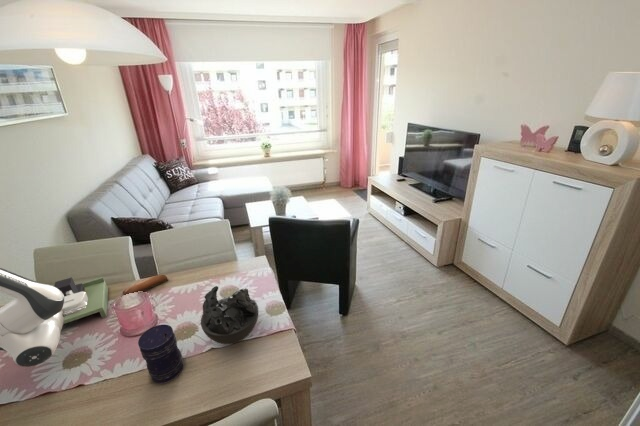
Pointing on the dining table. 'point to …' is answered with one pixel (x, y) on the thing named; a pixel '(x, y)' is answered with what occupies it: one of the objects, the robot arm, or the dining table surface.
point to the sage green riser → (93, 300)
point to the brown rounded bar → (145, 284)
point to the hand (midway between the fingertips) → (52, 297)
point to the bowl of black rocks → (229, 316)
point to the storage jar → (161, 353)
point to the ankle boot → (69, 286)
